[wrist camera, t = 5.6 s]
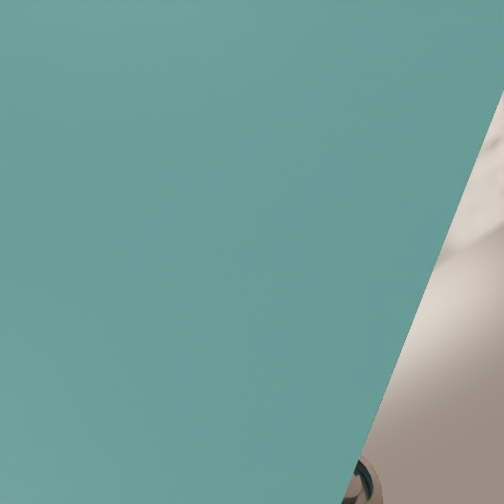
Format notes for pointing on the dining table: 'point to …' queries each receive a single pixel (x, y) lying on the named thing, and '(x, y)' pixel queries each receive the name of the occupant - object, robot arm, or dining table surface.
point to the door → (221, 234)
